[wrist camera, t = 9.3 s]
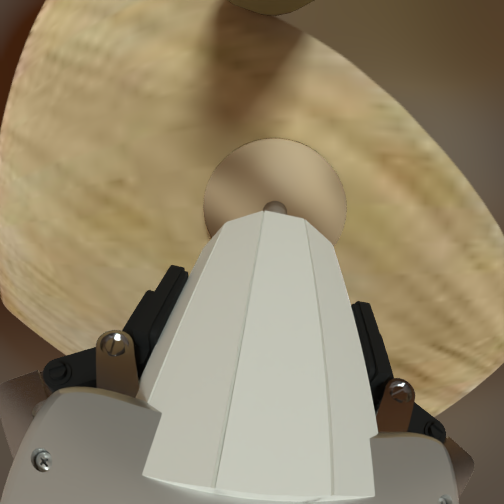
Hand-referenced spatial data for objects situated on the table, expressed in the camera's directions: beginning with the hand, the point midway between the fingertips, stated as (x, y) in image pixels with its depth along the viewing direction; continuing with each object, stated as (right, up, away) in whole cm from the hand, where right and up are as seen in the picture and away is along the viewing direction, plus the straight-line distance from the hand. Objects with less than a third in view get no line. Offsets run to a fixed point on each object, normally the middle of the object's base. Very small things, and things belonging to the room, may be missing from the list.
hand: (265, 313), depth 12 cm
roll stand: (+1, +7, +12) cm, 14 cm away
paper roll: (0, +1, +2) cm, 3 cm away
